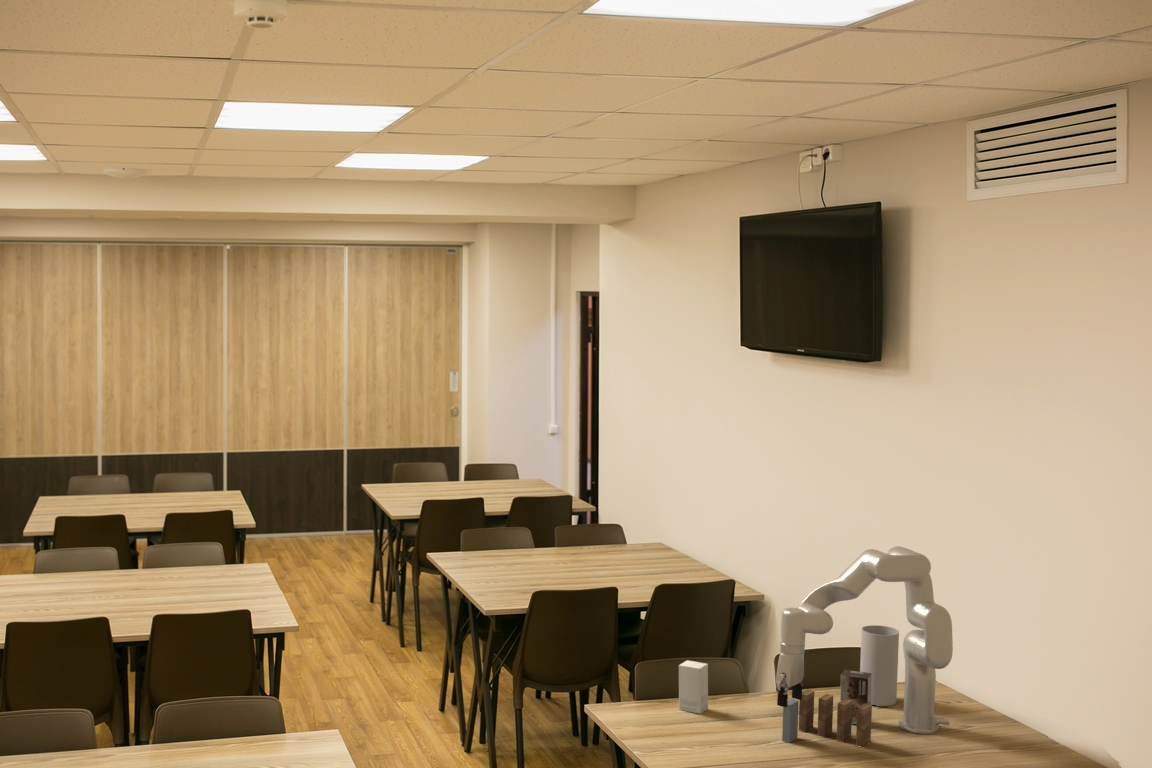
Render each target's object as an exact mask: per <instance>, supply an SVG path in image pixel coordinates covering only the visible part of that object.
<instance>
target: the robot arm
mask: <svg viewBox="0 0 1152 768" xmlns="http://www.w3.org/2000/svg"><path fill="white" fill-rule="evenodd" d="M931 569H932V563H931V562H930V560H929V558H928V557H927V556H926V555H925V554H922V553H919V552H917V551H914V550H912V549H909V548H907V547H903V546H893V547H891V548H889V549H888V551H887V553H886V552H883V551H881V550H878V549H875V548H874V549H873V548H868V549H866V550H864V551H863V552H861V554H860V555H859V556H858V557H857V558H856V559H855V560H854V561H853V562H851V564H849V566H848V567H846V569H845V570H844V571H842V572H841V574H840V575H839V576H838V577H836V578H835V579H832V580H831V581H828V582H826V583H825V584H823V585H821V586H819V587H817V588H815V589H814V590H813V591H811V592H810V593H809V594H808V595H807V596H806V597H805V598H804V599H803V600H802V601H801V602H800V603H799V605H798V606H797V607H787V608H784V609H783V610H782V613H781V624H780V626H781V628H780V643H779V655H778V656H779V657H778V661H777V666H776V667H777V669H776V679H775V680H776V681H775V684H776V693H777V700H776V701H777V702H776V703H777V704H776V705H777V706H778V707H787V701H789V700H788V698H789V694H788V690H789V688H791V699H794V700H798V701H800V700H801V699H802V692H803V687H804V680H805V673H806V670H805V669H804V668H805V665H804V664H805V661H804V659H805V658H804V657H805V647H806V634H814V635H825V634H827V633H829V632H831V630H832V629H833V626H834V620H833V617H832V616H831V614H830V613H829V612H827V611H826V610H825V609H826V608H828V607H830V606H831V605H833V604H836V603H839V602H844V601H851V600H855V599H857V598H859V597H860V596H861V595H862V594H863V593H864V591H865V590H866V589H867V588H869V586H870V585H871V584H872V583H873V582H875V580H876V579H877V580H879V581H881V582H885V583H887V582H888V583H899V582H900V583H904V589H905V604H906V605H905V607H906V619H907V621H908V623H909V624H910V625H912V626H913V627H915V628H917V629H912V630H911V631H909V632H908V633H906V635H905V636H904V639H903V643H902V648H903V649H902V650H903V656H904V657H903V658H904V664H905V665H904V666H905V669H904V690H903V691H904V693H903V717H902V718H900V719H898V721H897V724H898V727H899V728H900V729H902V730H903V731H904V730H905V731H906V732H910V733H914V734H923V735H925V734H926V735H928V734H934V733H936V732H938V731H939V730H940V729H939V727H940V725H945V726H949V725H950V719H949V718H944V716H938V715H936V714H935V702H936V700H935V699H936V681H937V680H936V679H937V676H936V674H937V673H936V670H941V669H945V668H946V667H948V666H949V664H950V663H951V661H952V658H953V653H954V652H953V650H954V649H953V648H954V646H953V644H954V643H953V621H952V617H951V614H950V613H949V611H948V610H947V609H946V608H945V606H942V605H940V604H937V603H936V601H935V598H934V589H933V588H934V587H933V581H932V577H931V574H930V573H931Z"/></svg>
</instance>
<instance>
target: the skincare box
mask: <svg viewBox="0 0 1152 768" xmlns="http://www.w3.org/2000/svg"><path fill="white" fill-rule="evenodd" d="M708 709H709V664H708V663H705V662H698V661H694V660H688V659H687V660H685V661H684V662H682V663H680V664H679V665H678V710H679V711H685V712H690V713H695V714H697V715H698V714H699V715H700V714H702V713H704V712H705V711H707V710H708Z"/></svg>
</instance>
